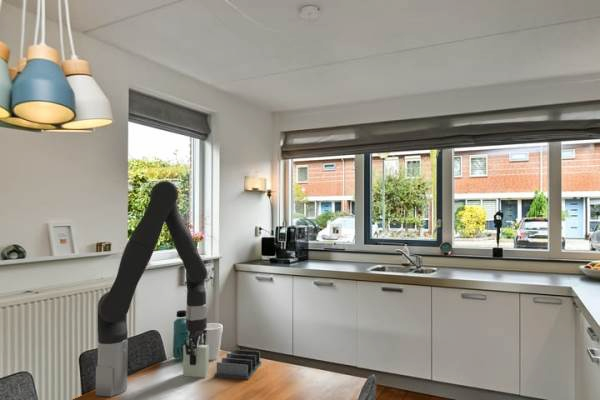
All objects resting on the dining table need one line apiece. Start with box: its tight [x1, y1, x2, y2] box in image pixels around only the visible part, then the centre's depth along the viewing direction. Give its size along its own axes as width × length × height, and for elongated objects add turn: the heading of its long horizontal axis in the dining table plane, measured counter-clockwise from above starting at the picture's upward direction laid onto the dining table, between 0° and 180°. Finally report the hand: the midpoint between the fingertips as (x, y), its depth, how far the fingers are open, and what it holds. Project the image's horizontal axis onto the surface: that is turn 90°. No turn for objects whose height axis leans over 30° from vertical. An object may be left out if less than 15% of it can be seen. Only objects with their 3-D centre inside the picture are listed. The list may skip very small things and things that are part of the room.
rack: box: [214, 348, 262, 381], centre depth 158 cm, size 16×13×5 cm
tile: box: [182, 345, 210, 378], centre depth 153 cm, size 3×9×11 cm, turn 78°
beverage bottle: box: [172, 309, 190, 360], centre depth 169 cm, size 6×7×20 cm
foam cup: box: [205, 322, 224, 361], centre depth 172 cm, size 10×9×13 cm
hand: (196, 361), depth 153 cm, fingers open, 4 cm apart
